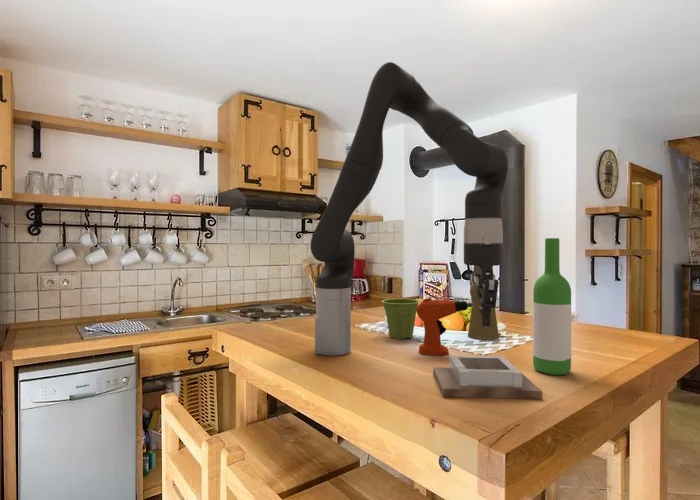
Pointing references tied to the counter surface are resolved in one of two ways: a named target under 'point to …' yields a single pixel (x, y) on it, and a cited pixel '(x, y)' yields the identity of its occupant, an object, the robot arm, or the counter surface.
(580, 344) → the counter surface
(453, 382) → the socket board
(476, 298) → the olive chess pawn
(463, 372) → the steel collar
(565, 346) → the wine bottle
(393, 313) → the plant pot
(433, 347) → the toy drill
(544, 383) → the counter surface
